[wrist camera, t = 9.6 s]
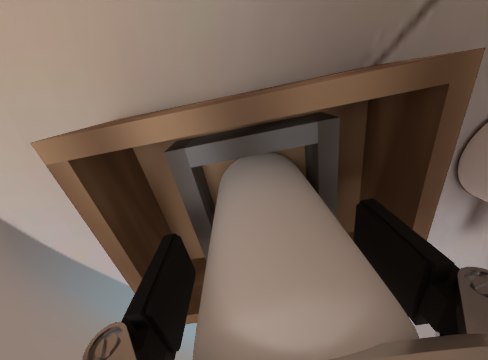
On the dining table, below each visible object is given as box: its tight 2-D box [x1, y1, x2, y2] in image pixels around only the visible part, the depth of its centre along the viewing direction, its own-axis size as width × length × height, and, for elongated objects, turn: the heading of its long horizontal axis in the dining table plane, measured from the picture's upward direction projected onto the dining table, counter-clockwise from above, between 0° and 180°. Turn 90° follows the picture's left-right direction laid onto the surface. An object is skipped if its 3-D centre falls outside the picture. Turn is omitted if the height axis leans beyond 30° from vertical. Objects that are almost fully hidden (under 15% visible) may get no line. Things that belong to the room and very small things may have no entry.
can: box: [193, 152, 419, 360], centre depth 10 cm, size 6×6×12 cm
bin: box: [31, 48, 485, 324], centre depth 13 cm, size 18×14×6 cm
